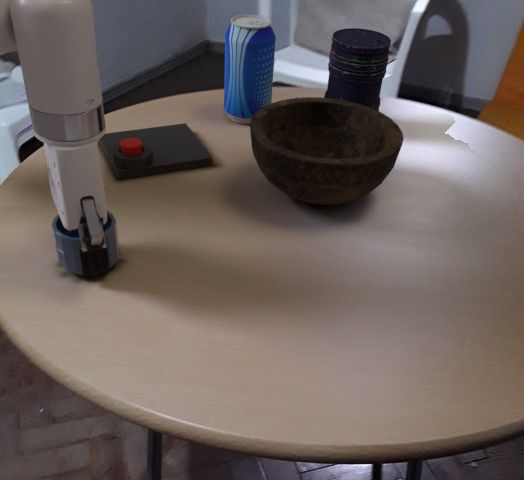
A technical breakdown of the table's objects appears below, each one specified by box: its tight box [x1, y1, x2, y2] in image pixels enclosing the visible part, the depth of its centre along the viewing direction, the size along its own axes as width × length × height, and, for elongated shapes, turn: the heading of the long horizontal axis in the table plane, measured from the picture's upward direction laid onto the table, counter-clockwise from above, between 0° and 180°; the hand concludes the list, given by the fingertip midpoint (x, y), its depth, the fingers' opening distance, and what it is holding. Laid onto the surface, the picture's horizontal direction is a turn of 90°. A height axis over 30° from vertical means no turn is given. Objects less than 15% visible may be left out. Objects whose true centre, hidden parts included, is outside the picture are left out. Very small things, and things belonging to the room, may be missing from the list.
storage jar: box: [323, 27, 392, 112], centre depth 108 cm, size 10×10×15 cm
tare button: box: [120, 138, 142, 156], centre depth 95 cm, size 3×3×2 cm
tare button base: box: [98, 123, 213, 181], centre depth 100 cm, size 15×13×3 cm
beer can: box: [223, 14, 277, 125], centre depth 108 cm, size 8×8×16 cm
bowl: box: [249, 96, 404, 205], centre depth 92 cm, size 22×22×10 cm
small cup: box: [51, 210, 121, 276], centre depth 77 cm, size 7×7×6 cm
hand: (88, 253), depth 79 cm, fingers closed on small cup, 7 cm apart
